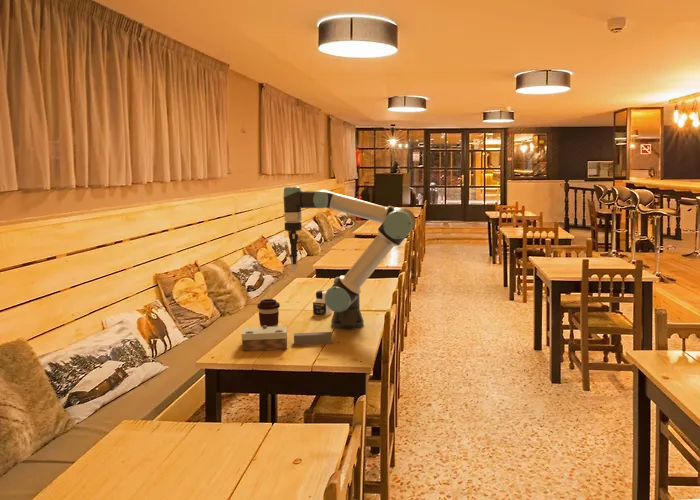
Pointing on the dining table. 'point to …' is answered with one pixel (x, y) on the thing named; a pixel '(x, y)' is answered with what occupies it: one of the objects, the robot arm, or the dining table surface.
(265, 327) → the door
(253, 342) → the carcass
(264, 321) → the coffee cup
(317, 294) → the medicine bottle
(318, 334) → the block
